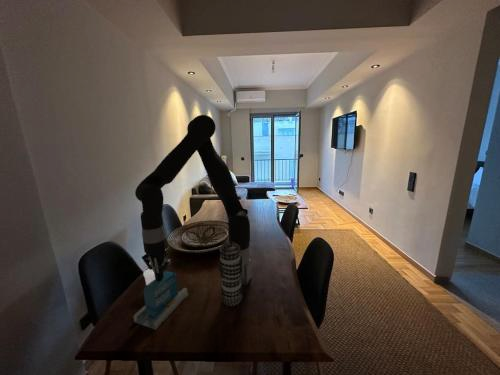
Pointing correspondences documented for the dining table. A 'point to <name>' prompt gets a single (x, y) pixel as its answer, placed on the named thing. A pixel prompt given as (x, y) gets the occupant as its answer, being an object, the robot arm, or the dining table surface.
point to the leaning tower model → (230, 273)
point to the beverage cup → (149, 276)
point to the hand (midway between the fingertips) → (159, 279)
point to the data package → (160, 293)
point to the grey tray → (155, 322)
